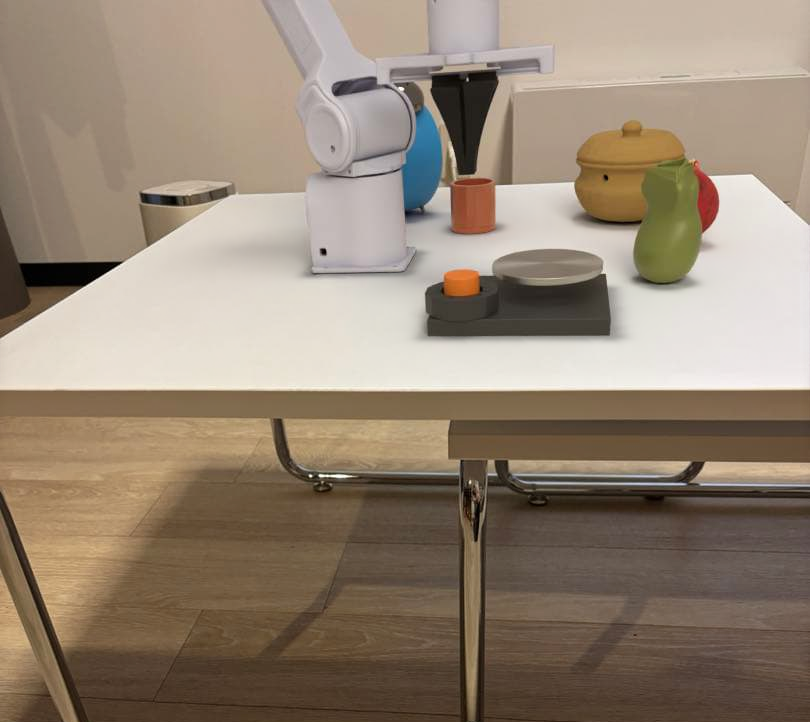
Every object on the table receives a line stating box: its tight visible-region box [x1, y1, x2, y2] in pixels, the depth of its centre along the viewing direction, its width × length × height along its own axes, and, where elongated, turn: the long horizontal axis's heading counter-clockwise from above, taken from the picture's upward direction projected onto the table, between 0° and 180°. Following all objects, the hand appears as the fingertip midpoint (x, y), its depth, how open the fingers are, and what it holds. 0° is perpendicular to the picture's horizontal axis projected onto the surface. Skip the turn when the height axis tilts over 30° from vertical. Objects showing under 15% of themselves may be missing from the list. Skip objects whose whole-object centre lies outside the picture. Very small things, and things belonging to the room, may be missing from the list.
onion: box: [688, 158, 720, 235], centre depth 80 cm, size 6×6×8 cm
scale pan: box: [491, 248, 604, 286], centre depth 68 cm, size 9×9×1 cm
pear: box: [632, 157, 703, 284], centre depth 70 cm, size 6×5×10 cm
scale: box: [424, 273, 612, 337], centre depth 68 cm, size 14×12×3 cm
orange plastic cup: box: [449, 177, 497, 235], centre depth 93 cm, size 5×5×5 cm
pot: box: [573, 119, 686, 223], centre depth 91 cm, size 12×12×10 cm
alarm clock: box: [393, 82, 444, 215], centre depth 100 cm, size 13×6×15 cm, turn 40°
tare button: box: [443, 268, 480, 296], centre depth 65 cm, size 3×3×2 cm
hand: (467, 173), depth 72 cm, fingers closed
